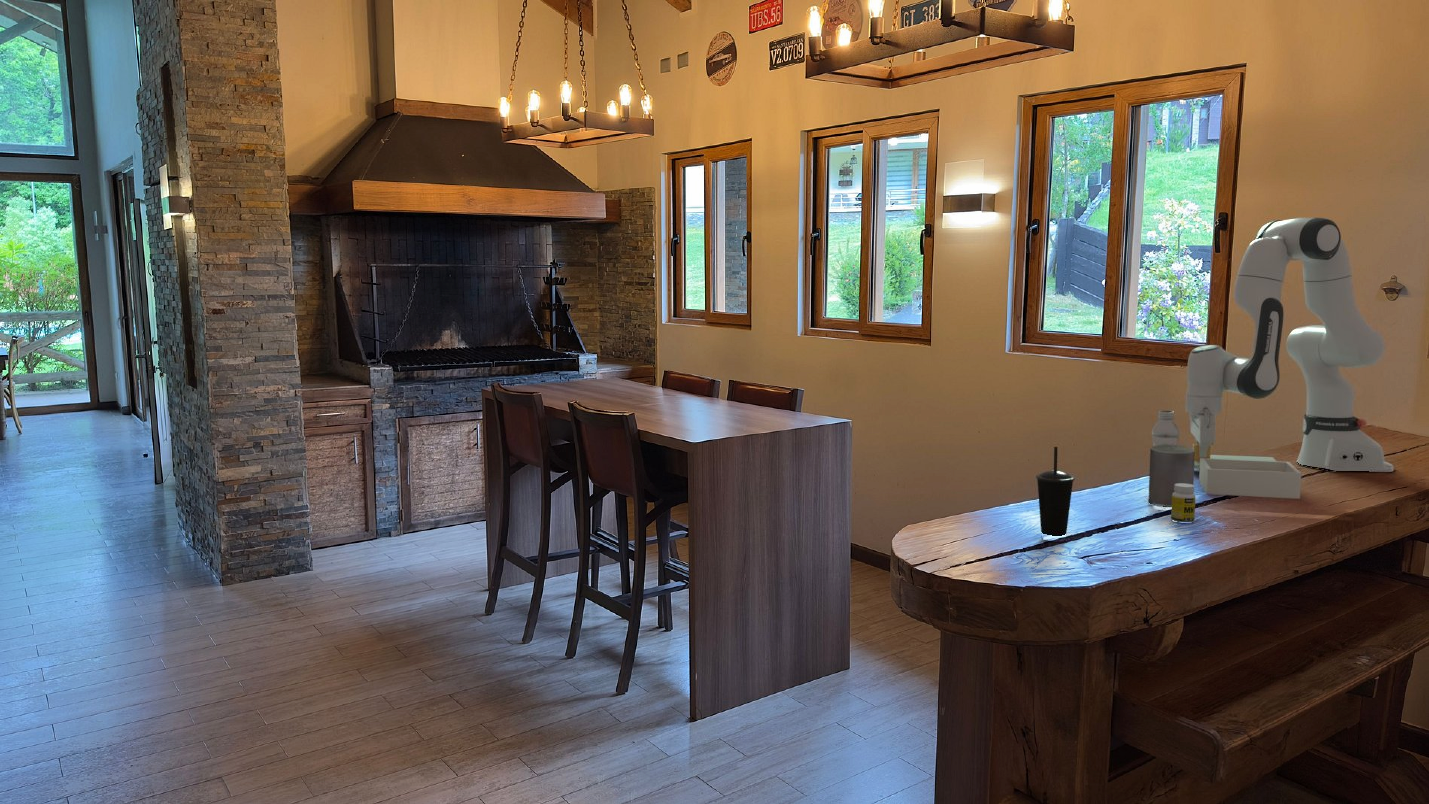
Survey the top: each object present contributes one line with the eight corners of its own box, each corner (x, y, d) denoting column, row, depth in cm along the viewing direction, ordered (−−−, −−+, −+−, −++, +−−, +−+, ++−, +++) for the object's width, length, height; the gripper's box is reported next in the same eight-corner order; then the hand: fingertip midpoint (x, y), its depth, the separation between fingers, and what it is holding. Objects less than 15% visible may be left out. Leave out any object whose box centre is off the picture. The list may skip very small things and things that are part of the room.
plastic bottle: (1171, 485, 248) (1174, 409, 245) (1181, 491, 241) (1184, 413, 238) (1145, 485, 248) (1148, 409, 246) (1154, 491, 242) (1157, 413, 239)
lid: (1272, 466, 260) (1273, 442, 259) (1283, 477, 246) (1285, 453, 245) (1187, 462, 267) (1188, 439, 266) (1193, 473, 253) (1194, 450, 252)
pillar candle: (1152, 497, 235) (1154, 438, 233) (1196, 502, 229) (1198, 441, 227) (1144, 506, 227) (1146, 445, 225) (1189, 511, 221) (1191, 448, 219)
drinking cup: (1068, 546, 197) (1071, 451, 194) (1030, 541, 201) (1032, 448, 198) (1076, 537, 203) (1078, 445, 200) (1039, 532, 207) (1041, 442, 204)
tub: (1287, 488, 240) (1288, 461, 240) (1299, 501, 227) (1301, 473, 226) (1199, 484, 247) (1200, 458, 246) (1206, 497, 234) (1207, 469, 233)
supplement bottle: (1185, 525, 210) (1186, 488, 209) (1166, 520, 214) (1167, 484, 213) (1199, 522, 212) (1200, 485, 211) (1180, 517, 216) (1181, 481, 215)
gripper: (1222, 411, 246) (1220, 463, 248) (1211, 400, 265) (1209, 449, 267) (1195, 410, 249) (1193, 462, 250) (1186, 400, 268) (1184, 448, 269)
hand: (1201, 455), depth 259 cm, fingers closed on lid, 3 cm apart
